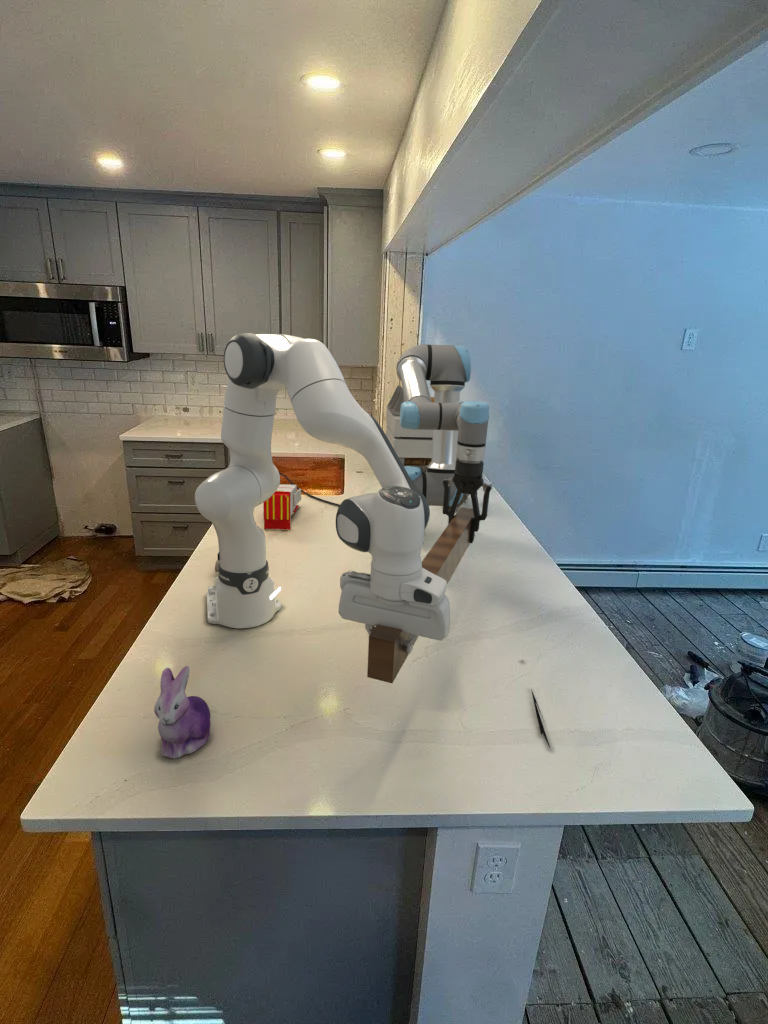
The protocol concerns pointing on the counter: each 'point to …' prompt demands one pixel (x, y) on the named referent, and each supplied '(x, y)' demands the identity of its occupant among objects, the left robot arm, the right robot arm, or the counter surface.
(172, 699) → the figurine
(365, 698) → the counter surface
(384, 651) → the bar
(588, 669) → the counter surface
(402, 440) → the transformer
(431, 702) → the counter surface
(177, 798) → the counter surface
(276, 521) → the toy
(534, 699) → the feather
